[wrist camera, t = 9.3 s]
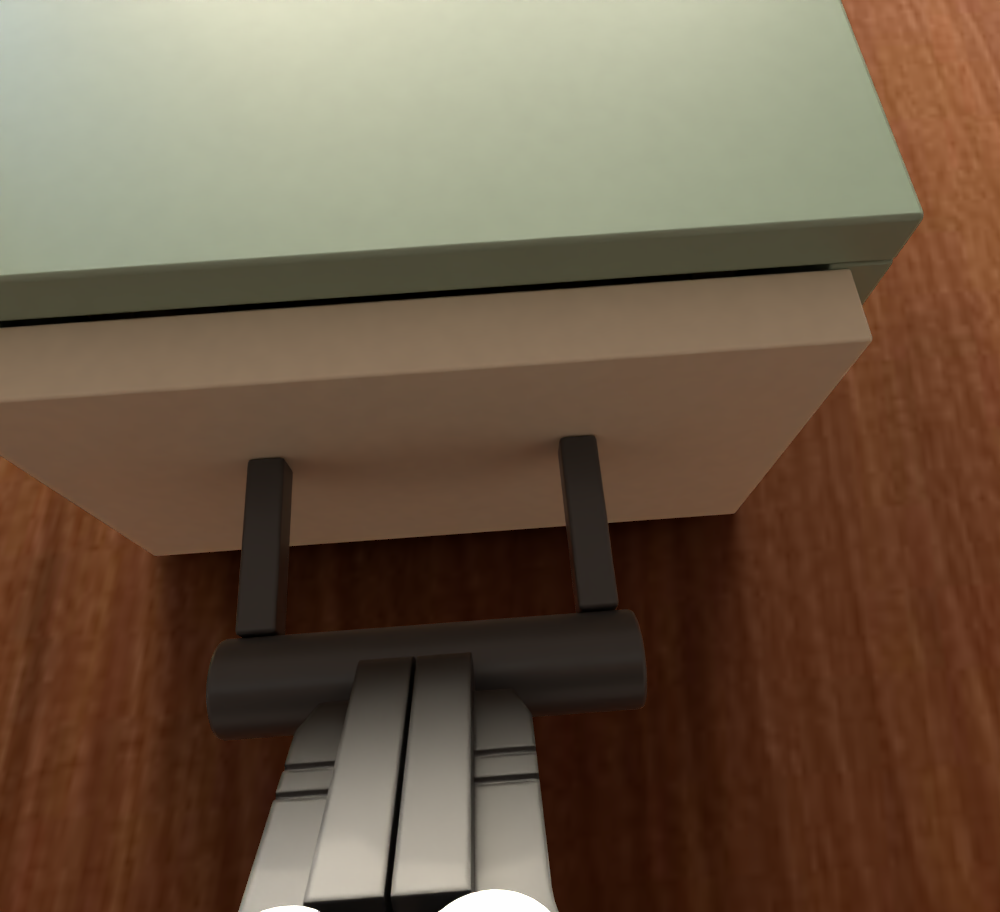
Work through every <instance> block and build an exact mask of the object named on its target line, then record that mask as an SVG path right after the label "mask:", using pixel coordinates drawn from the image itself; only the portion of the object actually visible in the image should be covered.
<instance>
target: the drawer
mask: <svg viewBox="0 0 1000 912" xmlns="http://www.w3.org/2000/svg"><path fill="white" fill-rule="evenodd" d="M737 271H738V270H732V271H717V272H703V273H688V274H674V275H659V276H645V277H631V278H616V279H602V280H587V281H573V282H558V283H544V284H529V285H515V286H501V287H486V288H472V289H457V290H443V291H428V292H414V293H399V294H385V295H371V296H356V297H342V298H327V299H313V300H298V301H284V302H270V303H255V304H241V305H226V306H212V307H197V308H183V309H168V310H154V311H140V312H125V313H111V314H96V315H87V316H88V317H89V318H90V319H91V320H92V321H91V322H76V323H62V324H47V325H33V326H19V327H4V328H0V456H2V457H3V458H5V459H6V460H8V461H9V462H11V463H12V464H14V465H16V466H17V467H19V468H20V469H22V470H23V471H25V472H26V473H28V474H29V475H31V476H32V477H34V478H36V479H37V480H39V481H40V482H42V483H43V484H45V485H46V486H48V487H49V488H51V489H52V490H54V491H56V492H57V493H59V494H60V495H62V496H63V497H65V498H66V499H68V500H69V501H71V502H72V503H74V504H76V505H77V506H79V507H80V508H82V509H83V510H85V511H86V512H88V513H89V514H91V515H92V516H94V517H96V518H97V519H99V520H100V521H102V522H103V523H105V524H106V525H108V526H109V527H111V528H112V529H114V530H116V531H117V532H119V533H120V534H122V535H123V536H125V537H126V538H128V539H129V540H131V541H132V542H134V543H136V544H137V545H139V546H140V547H142V548H143V549H145V550H146V551H148V552H149V553H151V554H152V555H154V556H163V555H176V554H190V553H204V552H217V551H231V550H241V561H240V575H239V588H238V602H237V616H236V629H235V631H236V634H237V635H238V636H240V637H242V638H235V639H226V640H224V641H222V642H221V643H219V645H218V646H217V647H216V649H215V651H214V653H213V655H212V658H211V661H210V665H209V670H208V676H207V684H206V705H207V714H208V719H209V723H210V726H211V729H212V731H213V733H214V735H215V736H216V737H217V738H219V739H221V740H224V741H228V740H241V739H254V738H268V737H281V736H294V733H295V731H296V730H297V729H298V728H299V726H300V725H301V724H302V723H303V722H304V721H305V719H306V718H307V717H308V716H309V715H310V714H311V712H312V711H313V710H314V709H315V708H316V706H317V705H318V704H319V703H322V702H335V701H348V700H349V699H350V695H351V691H352V686H353V682H354V678H355V673H356V669H357V665H358V663H359V661H360V660H371V659H384V658H397V657H410V656H414V657H415V659H416V661H417V657H418V656H427V655H440V654H453V653H466V652H471V653H472V658H473V668H474V679H475V690H476V691H483V690H496V689H509V688H513V689H514V690H515V692H516V693H517V694H518V696H519V697H520V698H521V700H522V701H523V702H524V704H525V705H526V707H527V708H528V709H529V711H530V712H531V713H532V717H542V716H555V715H568V714H582V713H595V712H608V711H621V710H634V709H640V708H642V707H644V705H645V702H646V697H647V667H646V657H645V650H644V644H643V638H642V634H641V630H640V626H639V623H638V620H637V618H636V616H635V614H634V612H633V611H632V610H629V609H622V610H616V608H617V607H618V604H619V600H618V593H617V585H616V578H615V571H614V564H613V556H612V549H611V542H610V534H609V527H608V523H613V522H627V521H640V520H654V519H668V518H681V517H695V516H709V515H722V514H734V513H735V512H736V511H737V510H738V509H739V507H740V506H741V505H742V504H743V502H744V501H745V500H746V499H747V497H748V496H749V495H750V494H751V492H752V491H753V490H754V489H755V487H756V486H757V485H758V484H759V482H760V481H761V480H762V478H763V477H764V476H765V475H766V473H767V472H768V471H769V470H770V468H771V467H772V466H773V465H774V463H775V462H776V461H777V460H778V458H779V457H780V456H781V455H782V453H783V452H784V451H785V450H786V448H787V447H788V446H789V445H790V443H791V442H792V441H793V439H794V438H795V437H796V436H797V434H798V433H799V432H800V431H801V429H802V428H803V427H804V426H805V424H806V423H807V422H808V421H809V419H810V418H811V417H812V416H813V414H814V413H815V412H816V411H817V409H818V408H819V407H820V406H821V404H822V403H823V402H824V400H825V399H826V398H827V397H828V395H829V394H830V393H831V392H832V390H833V389H834V388H835V387H836V385H837V384H838V383H839V382H840V380H841V379H842V378H843V377H844V375H845V374H846V373H847V372H848V370H849V369H850V368H851V367H852V365H853V364H854V363H855V362H856V360H857V359H858V358H859V356H860V355H861V354H862V353H863V351H864V350H865V349H866V348H867V346H868V345H869V344H870V343H871V341H872V335H871V332H870V329H869V326H868V322H867V319H866V316H865V313H864V310H863V307H862V304H861V301H860V298H859V295H858V292H857V289H856V285H855V282H854V279H853V276H852V273H851V271H850V270H849V269H840V270H826V271H812V272H797V273H783V274H768V275H754V276H739V277H735V276H736V273H737ZM558 526H566V531H567V539H568V548H569V557H570V566H571V575H572V584H573V593H574V602H575V611H576V613H569V614H556V615H542V616H529V617H515V618H502V619H489V620H475V621H462V622H449V623H435V624H422V625H408V626H395V627H382V628H368V629H355V630H342V631H328V632H315V633H301V634H288V635H285V631H286V609H287V588H288V566H289V546H299V545H313V544H327V543H340V542H354V541H367V540H381V539H395V538H408V537H422V536H436V535H449V534H463V533H477V532H490V531H504V530H518V529H531V528H545V527H558Z"/></svg>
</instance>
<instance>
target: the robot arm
mask: <svg viewBox="0 0 1000 912" xmlns="http://www.w3.org/2000/svg"><path fill="white" fill-rule="evenodd" d="M238 912H559V911H558V909H557V906H556V903H555V901H554V896H553V891H552V884H551V876H550V867H549V858H548V850H547V841H546V832H545V823H544V815H543V806H542V797H541V788H540V780H539V771H538V762H537V753H536V745H535V736H534V727H533V719H532V713H531V712H530V711H529V709H528V708H527V707H526V705H525V704H524V702H523V701H522V700H521V698H520V697H519V696H518V694H517V693H516V692H515V690H514V689H513V688H509V689H496V690H483V691H476V690H475V679H474V668H473V658H472V653H471V652H466V653H453V654H440V655H427V656H418V657H417V661H416V659H415V657H414V656H410V657H397V658H384V659H371V660H360V661H359V663H358V665H357V669H356V673H355V678H354V682H353V686H352V691H351V695H350V699H349V700H348V701H335V702H322V703H319V704H318V705H317V706H316V708H315V709H314V710H313V711H312V712H311V714H310V715H309V716H308V717H307V718H306V719H305V721H304V722H303V723H302V724H301V725H300V726H299V728H298V729H297V730H296V731H295V733H294V736H293V740H292V743H291V746H290V749H289V752H288V755H287V759H286V762H285V770H284V772H282V775H281V778H280V781H279V784H278V787H277V790H276V800H273V803H272V806H271V809H270V813H269V816H268V819H267V822H266V825H265V829H264V832H263V835H262V838H261V841H260V844H259V848H258V851H257V854H256V857H255V860H254V863H253V867H252V870H251V873H250V876H249V879H248V883H247V886H246V889H245V892H244V895H243V898H242V902H241V905H240V908H239V911H238Z"/></svg>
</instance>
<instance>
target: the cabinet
mask: <svg viewBox="0 0 1000 912" xmlns="http://www.w3.org/2000/svg"><path fill="white" fill-rule="evenodd" d="M922 219H923V210H922V208H921V205H920V203H919V200H918V198H917V195H916V192H915V190H914V187H913V185H912V182H911V180H910V177H909V174H908V172H907V169H906V167H905V164H904V162H903V159H902V156H901V154H900V151H899V149H898V146H897V144H896V141H895V138H894V136H893V133H892V131H891V128H890V126H889V123H888V120H887V118H886V115H885V113H884V110H883V108H882V105H881V102H880V100H879V97H878V95H877V92H876V90H875V87H874V84H873V82H872V79H871V77H870V74H869V72H868V69H867V66H866V64H865V61H864V59H863V56H862V54H861V51H860V48H859V46H858V43H857V41H856V38H855V36H854V33H853V30H852V28H851V25H850V23H849V20H848V18H847V15H846V12H845V10H844V7H843V5H842V2H841V0H0V328H4V327H19V326H33V325H47V324H62V323H76V322H91V321H92V320H91V319H90V318H89V317H88V316H87V315H96V314H111V313H125V312H140V311H154V310H168V309H183V308H197V307H212V306H226V305H241V304H255V303H270V302H284V301H298V300H313V299H327V298H342V297H356V296H371V295H385V294H399V293H414V292H428V291H443V290H457V289H472V288H486V287H501V286H515V285H529V284H544V283H558V282H573V281H587V280H602V279H616V278H631V277H645V276H659V275H674V274H688V273H703V272H717V271H732V270H738V271H737V273H736V276H735V277H739V276H754V275H768V274H783V273H797V272H812V271H826V270H840V269H849V270H850V271H851V273H852V276H853V279H854V282H855V285H856V289H857V292H858V295H859V298H860V301H861V304H862V305H863V303H864V302H865V301H866V299H867V298H868V296H869V295H870V294H871V292H872V291H873V290H874V288H875V287H876V285H877V284H878V283H879V281H880V280H881V278H882V277H883V276H884V274H885V273H886V271H887V270H888V269H889V267H890V266H891V264H892V261H893V258H895V257H896V256H897V255H898V253H899V252H900V250H901V249H902V248H903V246H904V245H905V243H906V242H907V241H908V239H909V238H910V236H911V235H912V234H913V232H914V231H915V229H916V228H917V227H918V225H919V224H920V222H921V221H922Z"/></svg>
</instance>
